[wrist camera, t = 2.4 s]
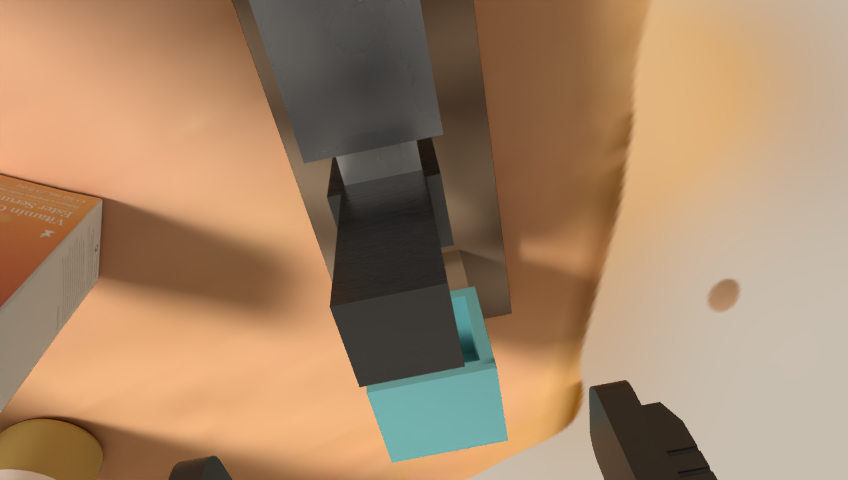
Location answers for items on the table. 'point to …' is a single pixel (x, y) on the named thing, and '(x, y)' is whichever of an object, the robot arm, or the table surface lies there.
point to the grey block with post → (392, 263)
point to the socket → (445, 396)
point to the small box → (41, 270)
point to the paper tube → (48, 452)
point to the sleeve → (350, 72)
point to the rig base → (455, 150)
